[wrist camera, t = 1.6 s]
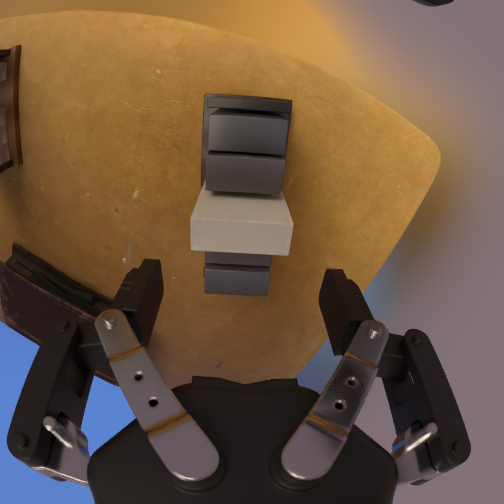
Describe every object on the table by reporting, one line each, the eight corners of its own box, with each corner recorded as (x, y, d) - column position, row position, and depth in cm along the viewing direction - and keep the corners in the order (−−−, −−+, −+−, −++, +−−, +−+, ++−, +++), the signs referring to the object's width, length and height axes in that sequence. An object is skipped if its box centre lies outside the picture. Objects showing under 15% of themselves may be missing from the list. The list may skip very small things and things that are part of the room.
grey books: (205, 94, 23) (182, 95, 14) (290, 100, 24) (318, 105, 15) (201, 240, 32) (187, 304, 23) (272, 244, 32) (283, 308, 23)
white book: (211, 164, 26) (190, 218, 16) (273, 168, 26) (294, 224, 16) (210, 185, 27) (190, 250, 17) (271, 189, 27) (288, 256, 17)
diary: (124, 368, 46) (118, 390, 42) (16, 310, 38) (5, 328, 34) (152, 313, 38) (143, 340, 33) (14, 237, 30) (-4, 255, 26)
